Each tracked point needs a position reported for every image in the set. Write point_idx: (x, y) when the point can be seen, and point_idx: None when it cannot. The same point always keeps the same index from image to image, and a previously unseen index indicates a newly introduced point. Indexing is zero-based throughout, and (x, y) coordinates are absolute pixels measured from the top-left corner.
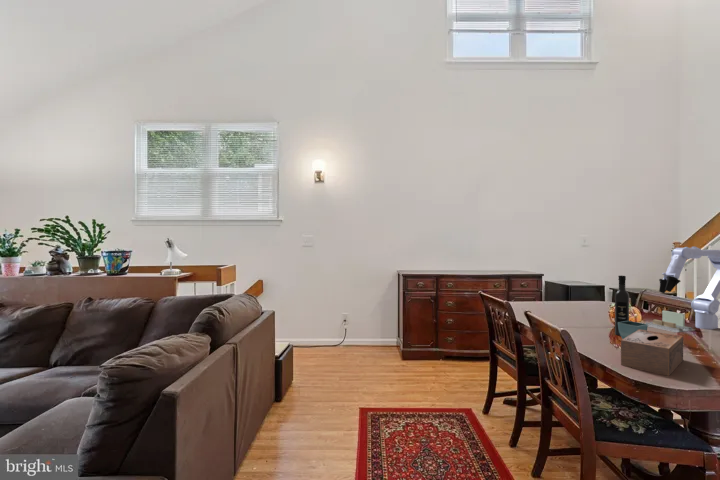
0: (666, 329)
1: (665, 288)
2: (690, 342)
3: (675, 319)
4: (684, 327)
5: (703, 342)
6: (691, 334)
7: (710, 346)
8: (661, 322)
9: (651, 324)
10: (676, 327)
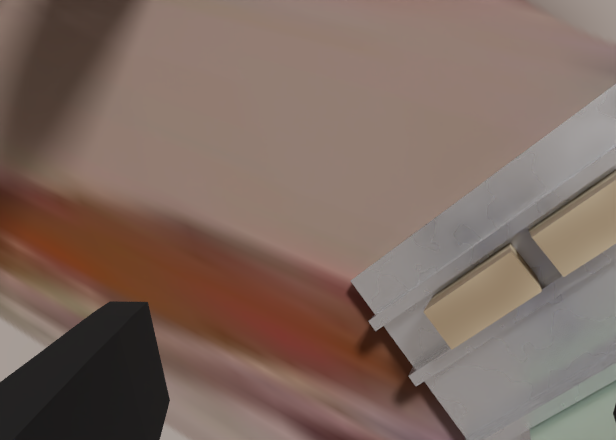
0: (463, 249)
1: (113, 324)
2: (119, 264)
3: (612, 425)
4: (494, 430)
5: None
6: (404, 419)
7: None
8: (534, 234)
9: (606, 151)
10: None
